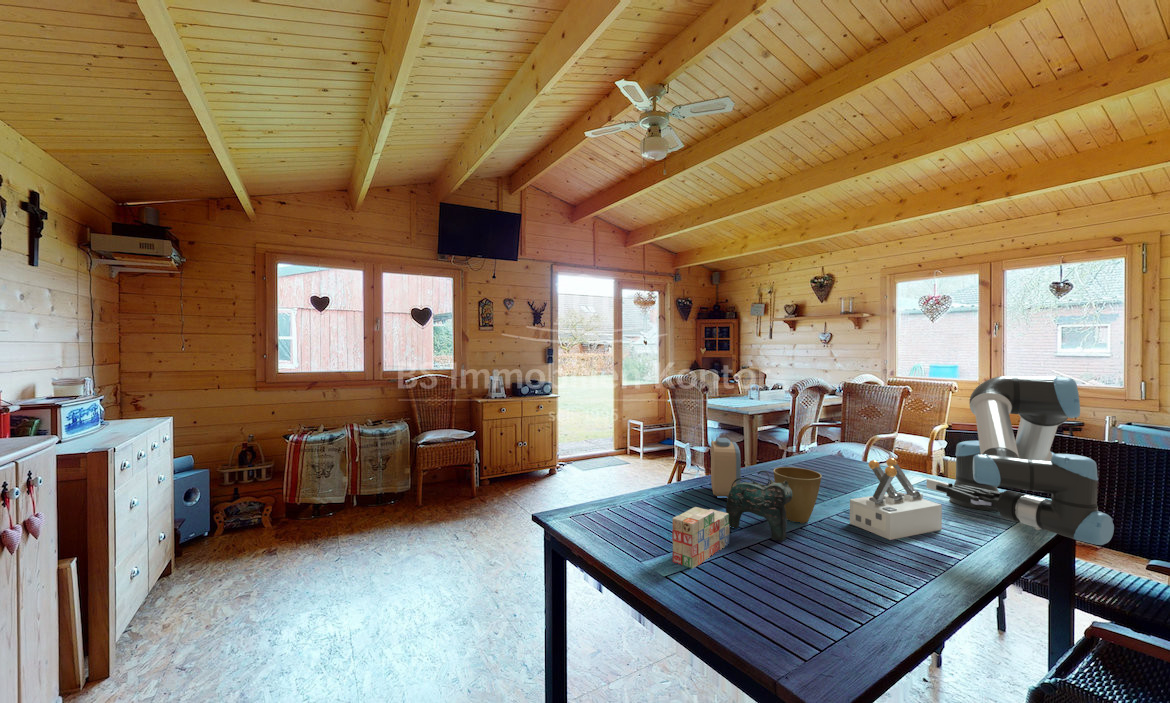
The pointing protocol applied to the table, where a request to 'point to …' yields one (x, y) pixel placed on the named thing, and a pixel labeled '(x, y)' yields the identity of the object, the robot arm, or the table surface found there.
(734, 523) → the ceramic cat
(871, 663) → the table surface
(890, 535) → the switch box
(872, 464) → the lever middle
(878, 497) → the lever
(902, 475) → the lever
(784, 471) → the plant pot
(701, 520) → the stack of blocks
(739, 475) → the alarm clock
